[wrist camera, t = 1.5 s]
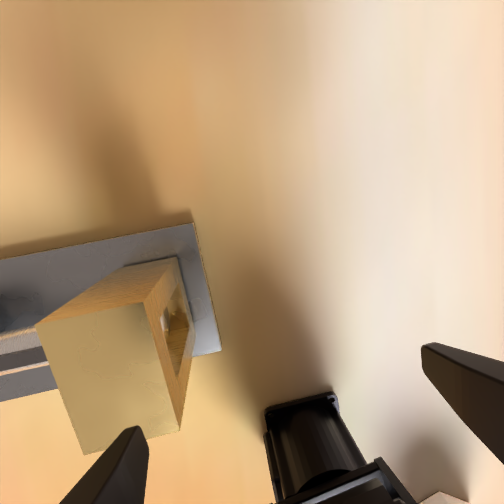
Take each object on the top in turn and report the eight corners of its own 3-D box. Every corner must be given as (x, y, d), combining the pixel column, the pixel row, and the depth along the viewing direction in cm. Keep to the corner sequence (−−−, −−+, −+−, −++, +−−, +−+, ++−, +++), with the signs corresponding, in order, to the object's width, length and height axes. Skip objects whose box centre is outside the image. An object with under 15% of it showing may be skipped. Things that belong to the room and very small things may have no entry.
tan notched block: (176, 256, 19) (142, 301, 10) (196, 334, 20) (179, 430, 12) (117, 268, 18) (34, 324, 10) (141, 347, 20) (83, 455, 11)
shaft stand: (193, 222, 20) (181, 232, 13) (221, 343, 22) (222, 402, 16) (-70, 272, 18) (-222, 311, 12) (-13, 397, 20) (-118, 486, 14)
